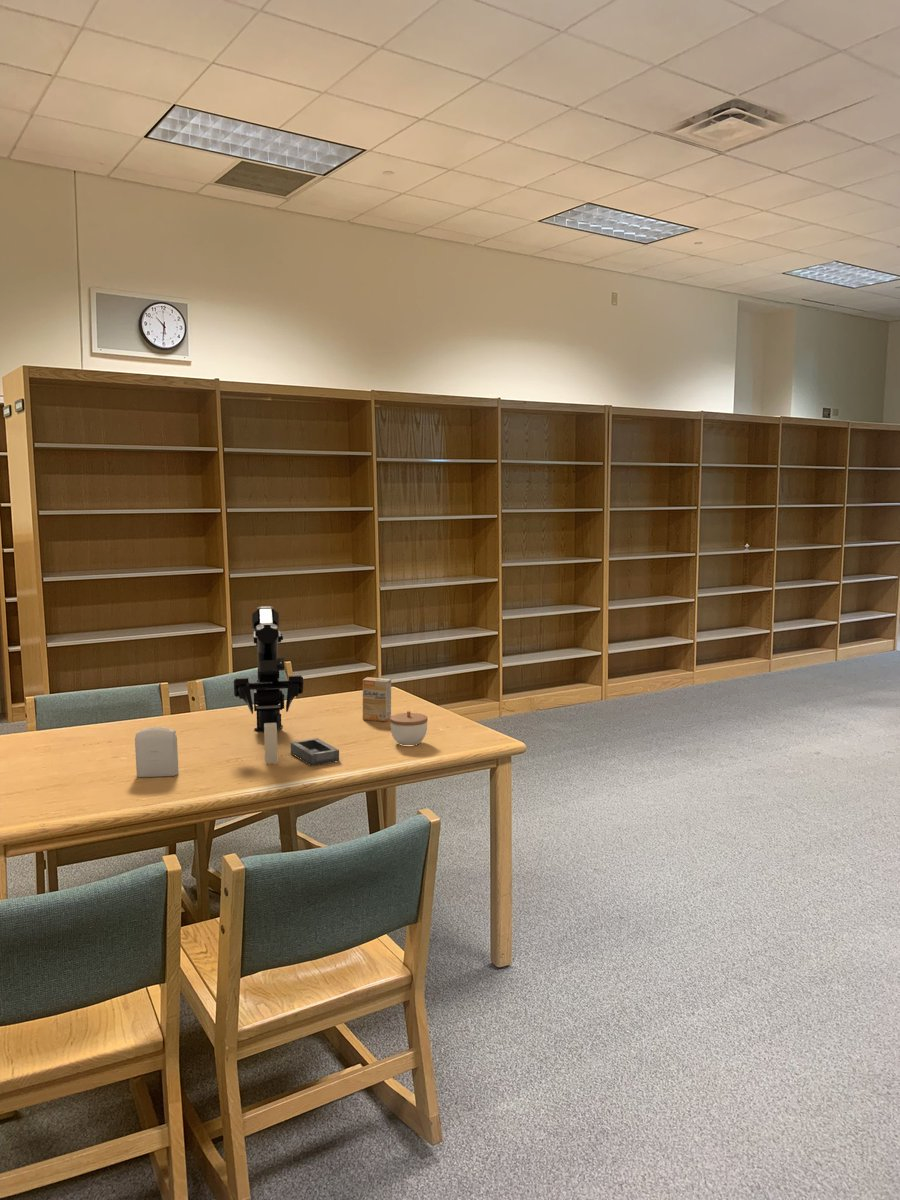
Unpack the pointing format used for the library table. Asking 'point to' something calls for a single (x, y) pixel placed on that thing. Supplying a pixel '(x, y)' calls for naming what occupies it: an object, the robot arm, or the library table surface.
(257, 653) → the robot arm
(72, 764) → the library table surface
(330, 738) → the library table surface
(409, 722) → the lidded jar
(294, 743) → the grey rectangular tray
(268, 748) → the pale grey rectangular block
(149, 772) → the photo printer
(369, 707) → the supplement box
